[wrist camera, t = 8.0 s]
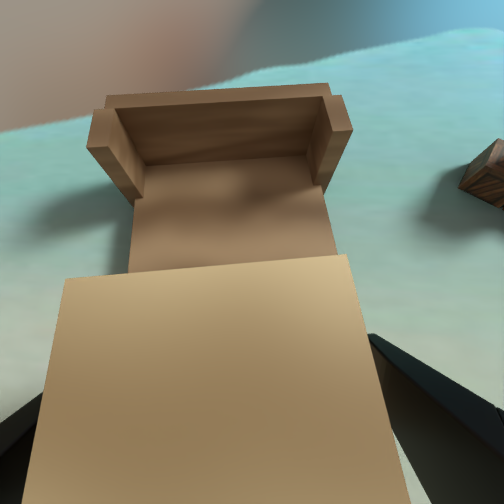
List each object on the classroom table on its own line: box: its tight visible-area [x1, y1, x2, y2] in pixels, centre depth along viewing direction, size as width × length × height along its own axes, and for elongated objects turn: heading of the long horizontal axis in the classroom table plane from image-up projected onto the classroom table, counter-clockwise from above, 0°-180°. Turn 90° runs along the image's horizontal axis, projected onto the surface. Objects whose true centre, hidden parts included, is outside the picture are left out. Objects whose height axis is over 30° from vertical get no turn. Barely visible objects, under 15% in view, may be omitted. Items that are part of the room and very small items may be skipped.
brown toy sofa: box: [86, 83, 353, 273], centre depth 17 cm, size 11×15×7 cm
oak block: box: [22, 254, 411, 504], centre depth 10 cm, size 5×5×13 cm
